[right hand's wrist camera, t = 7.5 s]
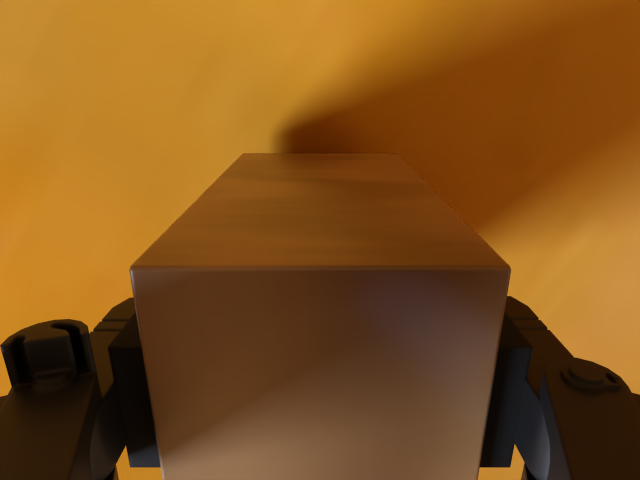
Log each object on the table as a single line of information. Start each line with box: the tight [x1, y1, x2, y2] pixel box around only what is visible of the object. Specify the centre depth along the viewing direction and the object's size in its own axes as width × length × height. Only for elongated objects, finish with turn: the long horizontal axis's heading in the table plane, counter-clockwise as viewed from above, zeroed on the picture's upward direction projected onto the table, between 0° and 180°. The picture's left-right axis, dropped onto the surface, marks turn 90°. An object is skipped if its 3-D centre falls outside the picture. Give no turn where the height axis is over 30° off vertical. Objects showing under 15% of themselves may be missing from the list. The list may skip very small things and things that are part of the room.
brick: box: [130, 153, 511, 480], centre depth 13 cm, size 6×6×11 cm
